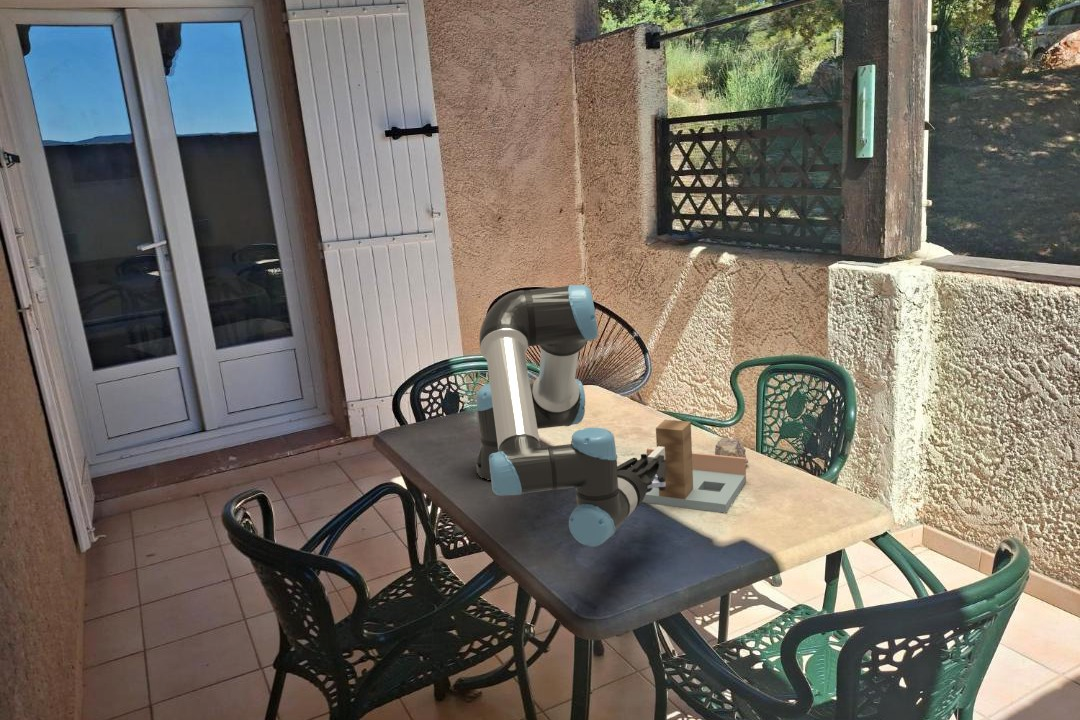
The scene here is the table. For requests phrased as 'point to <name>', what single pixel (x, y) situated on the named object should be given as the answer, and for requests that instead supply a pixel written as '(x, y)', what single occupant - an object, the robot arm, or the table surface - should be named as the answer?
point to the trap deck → (708, 483)
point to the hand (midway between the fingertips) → (661, 452)
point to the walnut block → (676, 457)
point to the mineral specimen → (730, 448)
